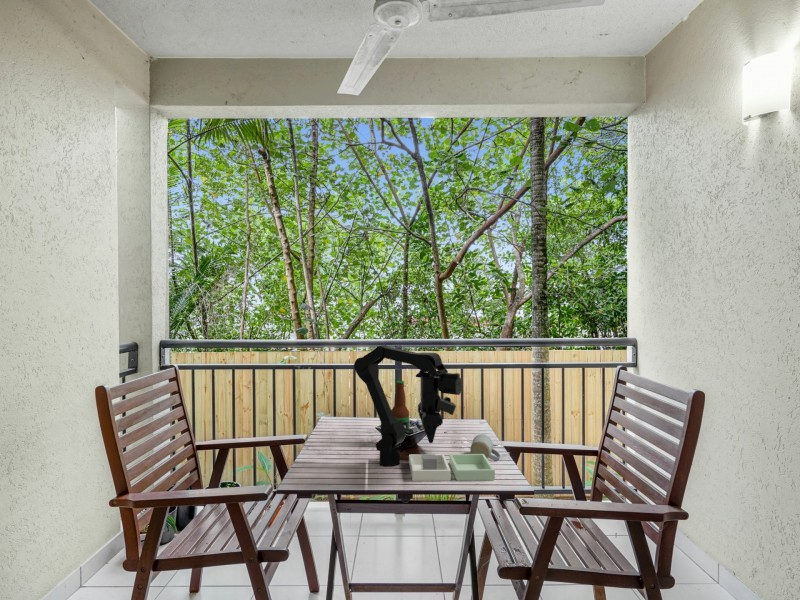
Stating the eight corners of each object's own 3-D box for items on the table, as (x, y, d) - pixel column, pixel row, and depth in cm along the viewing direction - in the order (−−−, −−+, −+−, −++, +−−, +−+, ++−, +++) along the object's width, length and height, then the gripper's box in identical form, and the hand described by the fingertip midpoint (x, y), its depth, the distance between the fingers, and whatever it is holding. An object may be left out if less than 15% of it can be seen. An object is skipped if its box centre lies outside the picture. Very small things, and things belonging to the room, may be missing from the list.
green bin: (456, 483, 162) (457, 470, 162) (449, 465, 178) (449, 454, 178) (494, 482, 163) (494, 470, 163) (483, 465, 179) (483, 453, 179)
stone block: (422, 474, 168) (422, 459, 167) (421, 469, 172) (421, 454, 172) (436, 474, 168) (436, 458, 168) (434, 469, 172) (435, 454, 172)
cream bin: (412, 483, 162) (412, 470, 161) (408, 465, 178) (409, 454, 177) (450, 483, 162) (450, 470, 162) (443, 465, 178) (443, 454, 178)
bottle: (391, 448, 197) (392, 383, 197) (388, 442, 204) (389, 379, 204) (410, 447, 199) (411, 382, 198) (406, 441, 206) (407, 379, 205)
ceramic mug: (469, 460, 184) (469, 439, 184) (472, 453, 192) (473, 432, 192) (499, 464, 181) (500, 442, 181) (501, 456, 189) (501, 436, 189)
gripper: (459, 397, 161) (458, 447, 161) (450, 386, 179) (449, 430, 180) (423, 397, 160) (422, 447, 160) (418, 386, 178) (417, 430, 179)
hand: (429, 438), depth 170 cm, fingers open, 9 cm apart
